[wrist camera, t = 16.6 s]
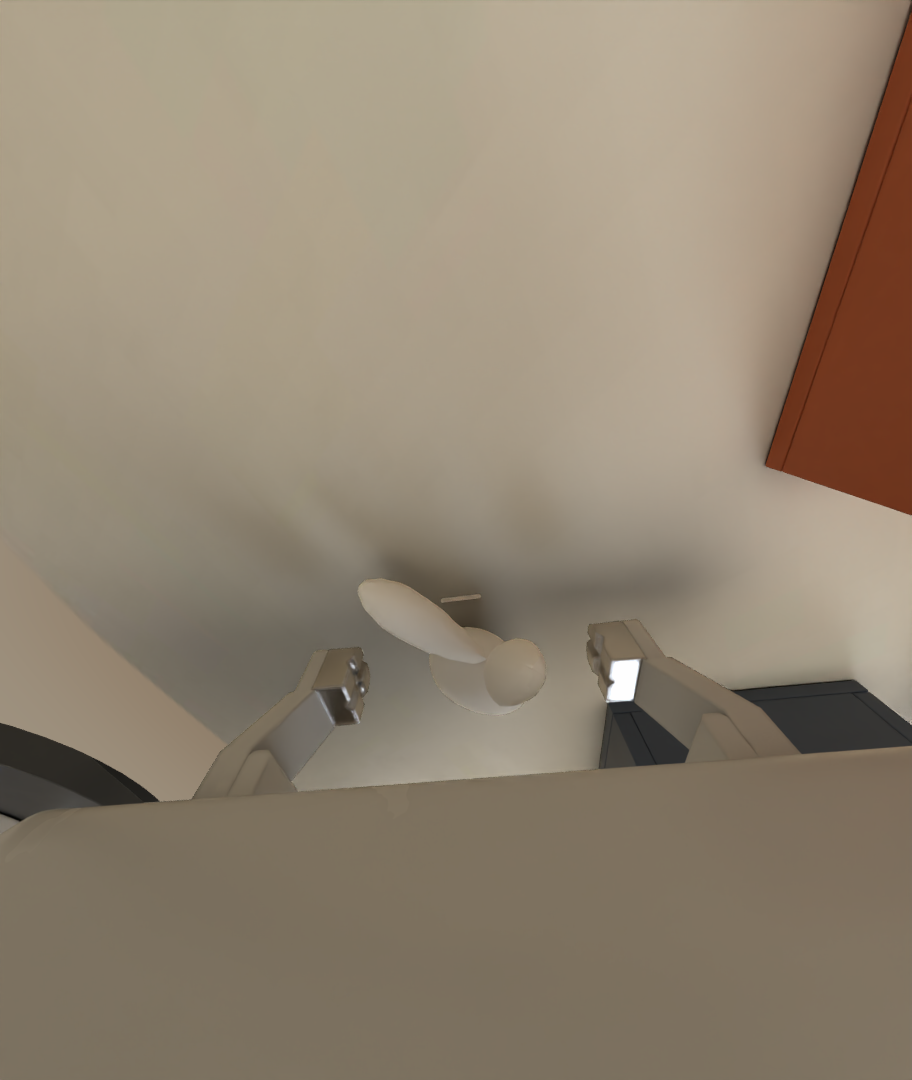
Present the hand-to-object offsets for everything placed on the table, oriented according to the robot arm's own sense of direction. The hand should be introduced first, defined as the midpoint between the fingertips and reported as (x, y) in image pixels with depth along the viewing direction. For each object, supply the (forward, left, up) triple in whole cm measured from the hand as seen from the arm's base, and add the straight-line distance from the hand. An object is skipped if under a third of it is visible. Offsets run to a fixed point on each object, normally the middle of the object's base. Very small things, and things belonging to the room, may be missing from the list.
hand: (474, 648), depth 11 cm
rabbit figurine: (0, 0, -3) cm, 3 cm away
